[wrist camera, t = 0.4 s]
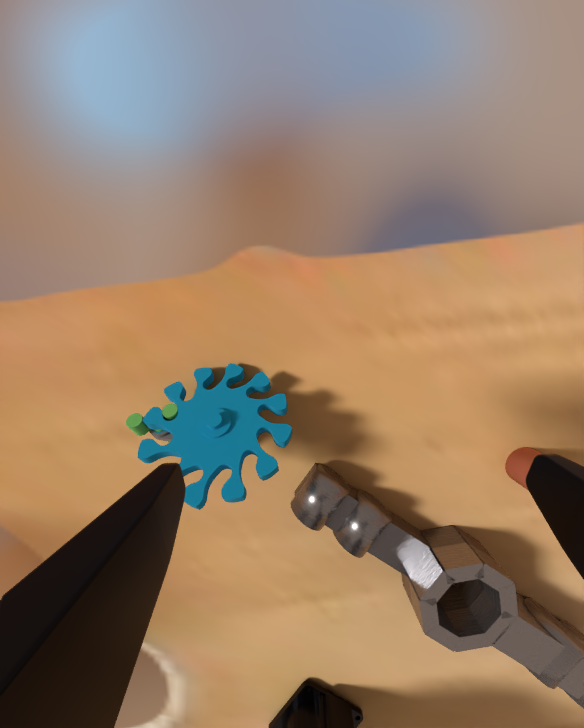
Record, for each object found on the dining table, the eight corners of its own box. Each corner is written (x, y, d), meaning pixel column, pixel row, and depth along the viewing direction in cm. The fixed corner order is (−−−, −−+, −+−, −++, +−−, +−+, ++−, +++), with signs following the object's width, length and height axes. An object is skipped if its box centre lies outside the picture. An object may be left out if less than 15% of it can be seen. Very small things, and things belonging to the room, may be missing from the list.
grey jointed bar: (546, 674, 27) (592, 738, 23) (279, 508, 25) (277, 546, 21) (597, 619, 27) (654, 674, 22) (327, 442, 24) (335, 467, 20)
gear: (301, 366, 22) (275, 517, 16) (301, 406, 26) (281, 535, 20) (158, 350, 23) (83, 485, 17) (182, 392, 27) (131, 508, 21)
